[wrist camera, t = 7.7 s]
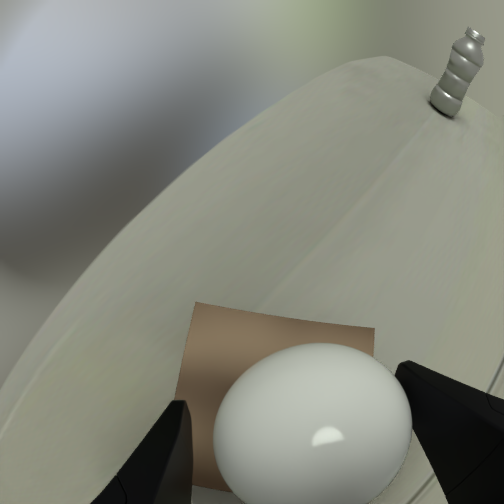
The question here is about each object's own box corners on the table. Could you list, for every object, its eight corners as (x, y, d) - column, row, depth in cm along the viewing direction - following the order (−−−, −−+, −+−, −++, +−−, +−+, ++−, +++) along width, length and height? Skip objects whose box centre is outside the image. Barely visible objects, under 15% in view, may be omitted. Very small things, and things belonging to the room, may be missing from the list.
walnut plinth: (338, 484, 13) (350, 494, 11) (170, 466, 14) (161, 476, 12) (360, 335, 19) (374, 328, 17) (200, 311, 19) (195, 301, 17)
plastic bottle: (421, 96, 39) (453, 18, 21) (444, 105, 40) (477, 33, 22) (436, 115, 36) (475, 31, 19) (459, 123, 37) (498, 48, 19)
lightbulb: (199, 406, 14) (141, 445, 4) (280, 341, 16) (355, 269, 6) (270, 477, 12) (325, 582, 2) (346, 410, 14) (481, 418, 4)
